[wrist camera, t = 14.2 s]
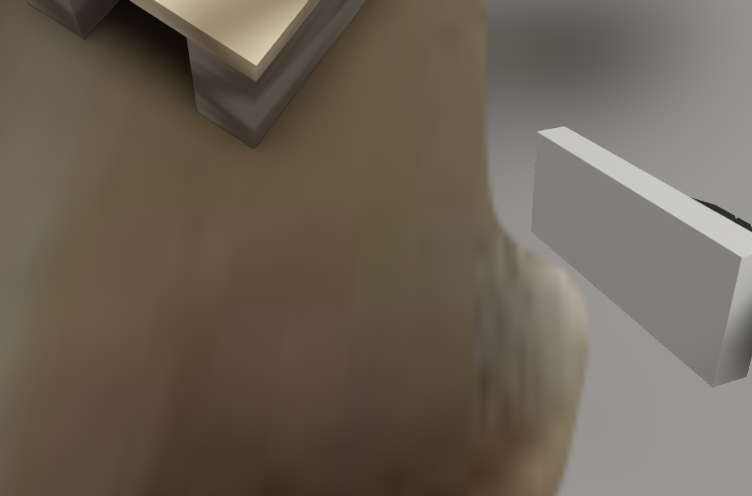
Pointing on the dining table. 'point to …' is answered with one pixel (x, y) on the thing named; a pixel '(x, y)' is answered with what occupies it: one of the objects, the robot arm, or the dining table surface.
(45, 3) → the shelf
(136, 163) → the dining table surface
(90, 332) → the dining table surface
